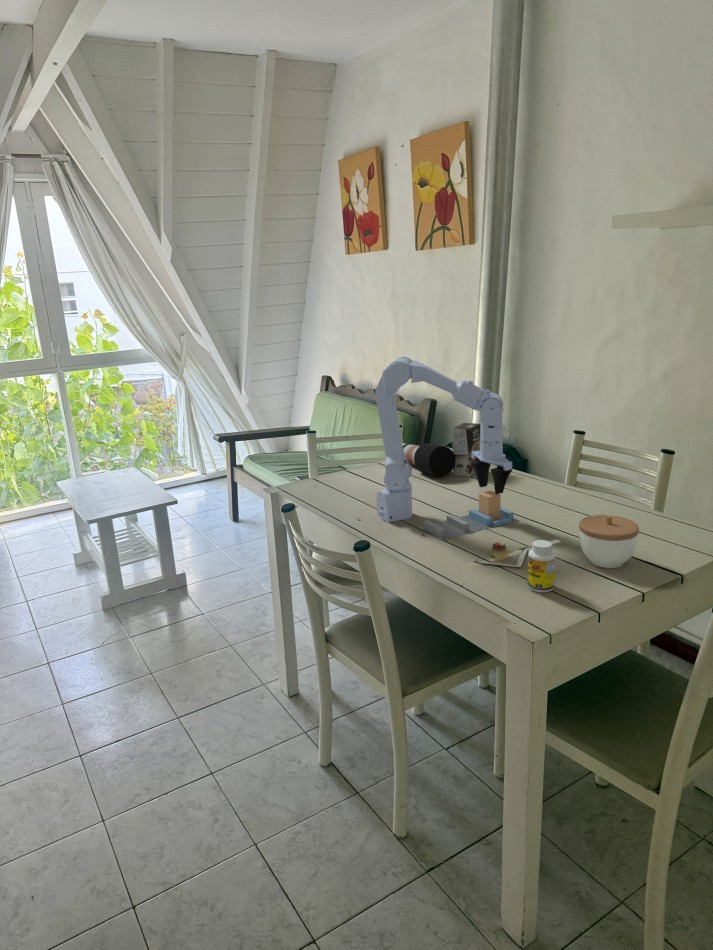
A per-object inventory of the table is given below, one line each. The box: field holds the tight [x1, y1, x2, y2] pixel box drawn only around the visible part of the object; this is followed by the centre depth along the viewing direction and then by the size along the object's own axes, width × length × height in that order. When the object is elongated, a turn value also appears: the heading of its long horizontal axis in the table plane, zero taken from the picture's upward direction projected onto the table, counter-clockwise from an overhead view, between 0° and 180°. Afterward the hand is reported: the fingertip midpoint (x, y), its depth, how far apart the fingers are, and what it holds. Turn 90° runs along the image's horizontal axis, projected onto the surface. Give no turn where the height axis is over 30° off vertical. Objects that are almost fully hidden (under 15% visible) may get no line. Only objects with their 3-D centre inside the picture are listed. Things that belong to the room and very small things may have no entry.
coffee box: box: [452, 422, 481, 478], centre depth 221 cm, size 9×6×16 cm
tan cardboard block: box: [478, 490, 501, 521], centre depth 179 cm, size 4×4×7 cm
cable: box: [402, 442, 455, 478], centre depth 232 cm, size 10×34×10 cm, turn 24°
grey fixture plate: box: [417, 506, 520, 541], centre depth 177 cm, size 25×11×3 cm, turn 117°
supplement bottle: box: [527, 539, 557, 593], centre depth 141 cm, size 6×6×10 cm
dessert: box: [473, 538, 529, 568], centre depth 159 cm, size 12×12×5 cm
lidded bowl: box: [578, 514, 640, 569], centre depth 151 cm, size 13×13×11 cm
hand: (491, 489), depth 178 cm, fingers open, 6 cm apart
